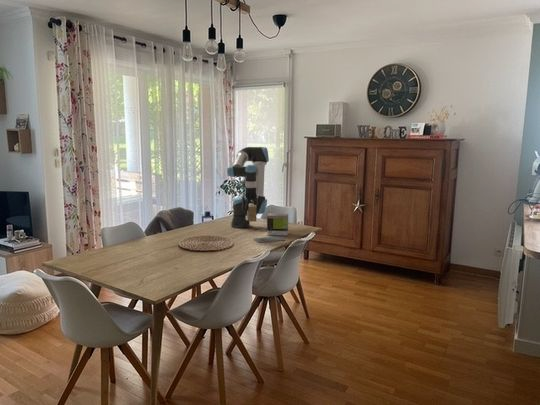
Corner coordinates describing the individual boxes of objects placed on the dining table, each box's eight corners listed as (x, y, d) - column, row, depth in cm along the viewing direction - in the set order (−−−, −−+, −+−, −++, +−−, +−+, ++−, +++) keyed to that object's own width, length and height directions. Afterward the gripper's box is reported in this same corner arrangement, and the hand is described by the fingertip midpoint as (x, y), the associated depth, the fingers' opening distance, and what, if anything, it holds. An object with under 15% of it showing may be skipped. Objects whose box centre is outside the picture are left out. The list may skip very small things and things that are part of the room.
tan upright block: (245, 219, 284) (245, 203, 282) (252, 218, 286) (252, 203, 284) (249, 221, 275) (249, 206, 273) (256, 221, 277) (256, 205, 275)
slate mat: (253, 239, 277) (253, 238, 277) (279, 237, 284) (279, 236, 284) (258, 242, 267) (258, 242, 267) (285, 240, 275) (285, 239, 275)
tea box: (288, 232, 297) (288, 213, 295) (287, 236, 287) (287, 216, 285) (268, 232, 299) (268, 212, 296) (266, 235, 289) (266, 215, 286)
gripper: (240, 188, 270) (240, 221, 274) (264, 187, 276) (264, 219, 280) (236, 186, 276) (237, 219, 281) (261, 185, 283) (261, 217, 287)
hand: (250, 219), depth 280 cm, fingers closed on tan upright block, 5 cm apart
